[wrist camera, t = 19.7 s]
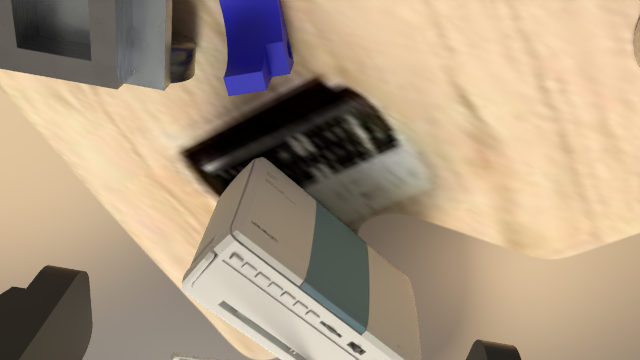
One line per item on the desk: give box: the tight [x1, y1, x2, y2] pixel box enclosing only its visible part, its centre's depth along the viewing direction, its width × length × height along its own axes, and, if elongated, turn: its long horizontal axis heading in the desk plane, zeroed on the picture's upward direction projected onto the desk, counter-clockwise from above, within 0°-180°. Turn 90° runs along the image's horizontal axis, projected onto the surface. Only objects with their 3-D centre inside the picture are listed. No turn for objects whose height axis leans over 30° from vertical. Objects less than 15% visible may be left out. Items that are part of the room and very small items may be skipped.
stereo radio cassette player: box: [171, 157, 421, 360], centre depth 46 cm, size 21×8×20 cm, turn 46°
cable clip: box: [219, 0, 294, 96], centre depth 40 cm, size 12×4×6 cm, turn 11°
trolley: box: [0, 0, 196, 90], centre depth 39 cm, size 13×10×10 cm
